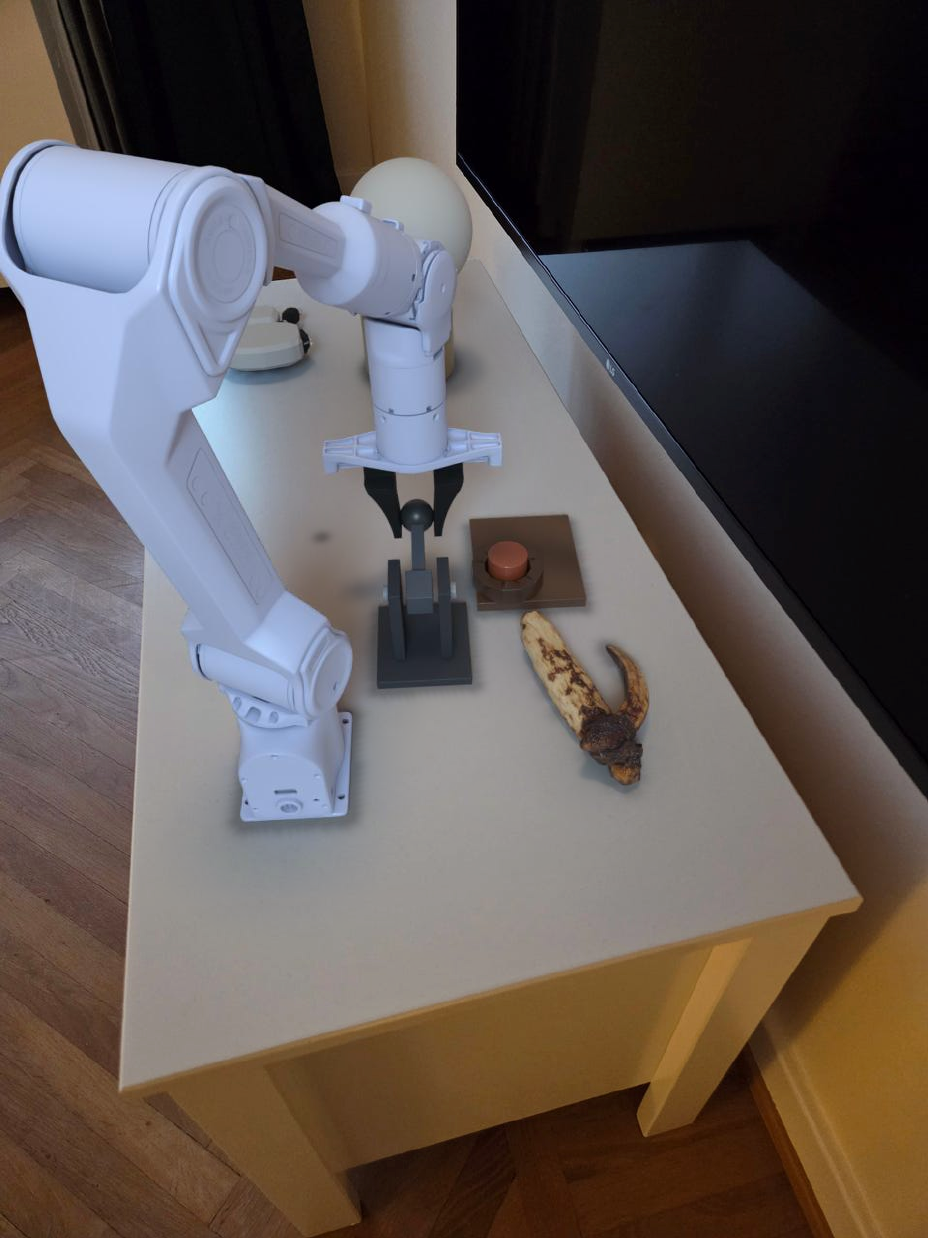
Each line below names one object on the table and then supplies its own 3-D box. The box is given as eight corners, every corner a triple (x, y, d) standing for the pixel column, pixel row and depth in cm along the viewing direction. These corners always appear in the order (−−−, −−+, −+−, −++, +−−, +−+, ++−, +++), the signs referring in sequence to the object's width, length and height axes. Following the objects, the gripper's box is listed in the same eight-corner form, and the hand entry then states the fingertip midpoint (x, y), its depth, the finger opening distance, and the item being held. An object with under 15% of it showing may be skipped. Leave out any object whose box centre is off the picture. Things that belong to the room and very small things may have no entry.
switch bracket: (379, 613, 77) (370, 541, 71) (466, 609, 77) (464, 537, 71) (377, 690, 71) (367, 619, 64) (472, 685, 71) (471, 614, 65)
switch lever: (400, 514, 75) (398, 492, 73) (434, 512, 75) (433, 490, 73) (402, 617, 69) (400, 597, 67) (439, 615, 69) (438, 595, 67)
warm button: (528, 580, 76) (529, 566, 75) (489, 582, 76) (489, 568, 75) (524, 554, 78) (525, 540, 77) (486, 555, 78) (486, 541, 77)
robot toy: (218, 337, 114) (218, 387, 103) (210, 304, 111) (209, 352, 100) (308, 327, 116) (318, 375, 105) (303, 294, 113) (312, 340, 102)
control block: (585, 609, 77) (588, 586, 75) (474, 614, 77) (474, 591, 75) (567, 523, 85) (569, 500, 83) (466, 527, 85) (466, 504, 83)
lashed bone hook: (698, 767, 66) (588, 611, 77) (713, 732, 62) (595, 575, 73) (594, 806, 63) (495, 639, 74) (603, 772, 60) (499, 602, 71)
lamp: (490, 393, 102) (493, 173, 84) (380, 418, 99) (358, 195, 81) (446, 336, 112) (440, 128, 94) (345, 357, 109) (318, 145, 90)
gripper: (498, 364, 67) (496, 498, 77) (317, 372, 67) (338, 505, 77) (506, 413, 63) (502, 549, 72) (311, 422, 62) (334, 557, 72)
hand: (418, 530), depth 74 cm, fingers closed on switch lever, 3 cm apart
